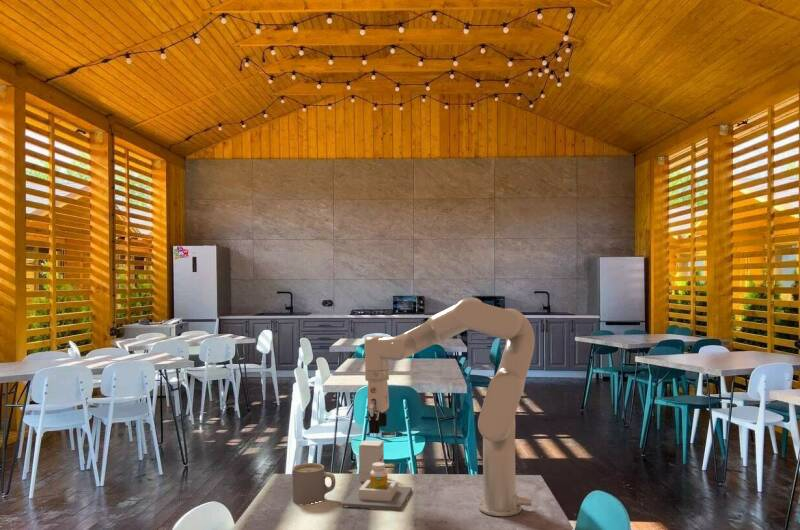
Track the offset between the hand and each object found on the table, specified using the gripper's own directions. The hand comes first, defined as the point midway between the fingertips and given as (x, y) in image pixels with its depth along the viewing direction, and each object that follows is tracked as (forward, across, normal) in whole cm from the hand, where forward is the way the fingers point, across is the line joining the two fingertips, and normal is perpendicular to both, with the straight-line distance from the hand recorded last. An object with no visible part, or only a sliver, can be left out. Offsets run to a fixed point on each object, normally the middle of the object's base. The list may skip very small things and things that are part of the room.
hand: (378, 429), depth 198 cm
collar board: (+22, 0, 0) cm, 22 cm away
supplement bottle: (+21, 0, 0) cm, 21 cm away
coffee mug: (+22, -4, +20) cm, 30 cm away
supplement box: (+22, +19, +7) cm, 30 cm away
